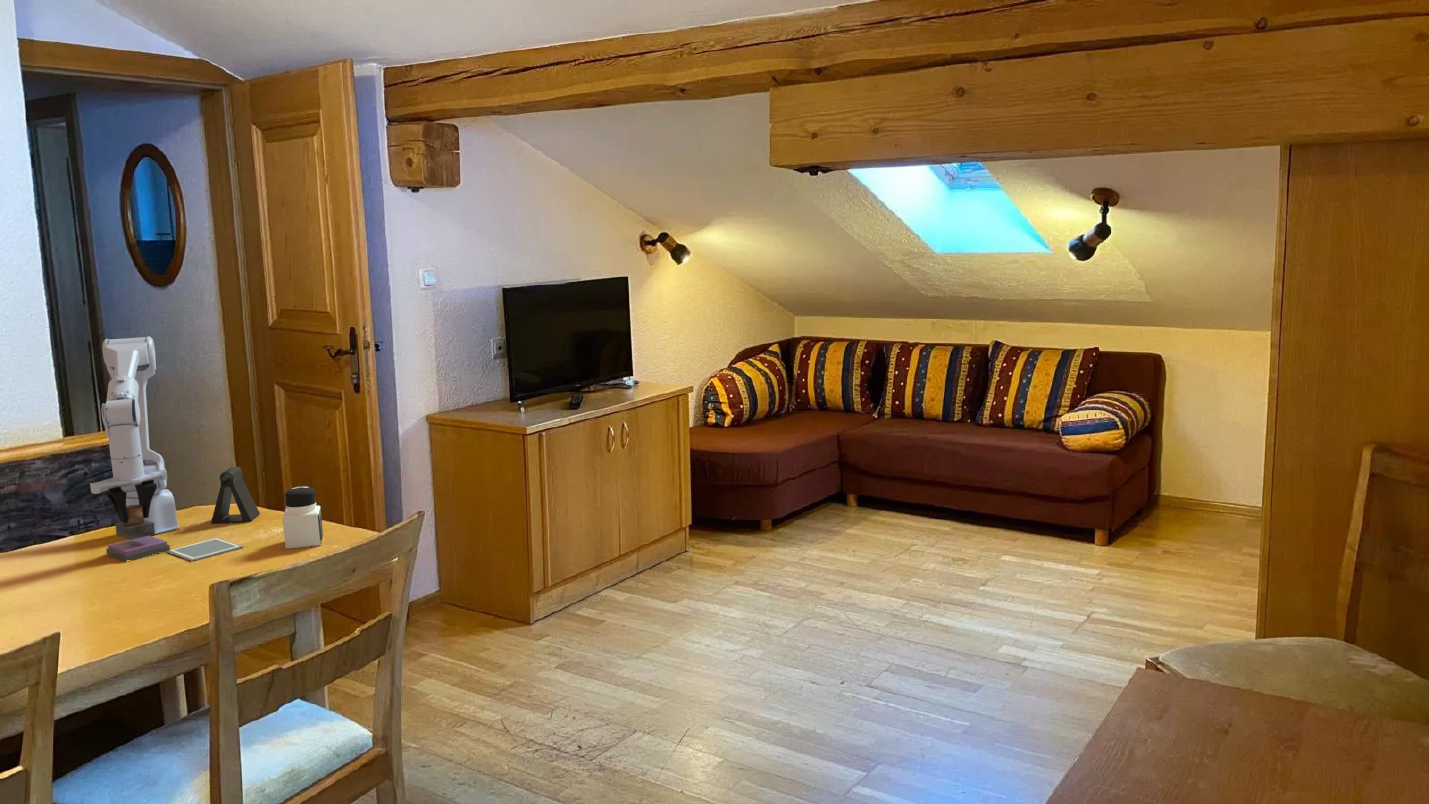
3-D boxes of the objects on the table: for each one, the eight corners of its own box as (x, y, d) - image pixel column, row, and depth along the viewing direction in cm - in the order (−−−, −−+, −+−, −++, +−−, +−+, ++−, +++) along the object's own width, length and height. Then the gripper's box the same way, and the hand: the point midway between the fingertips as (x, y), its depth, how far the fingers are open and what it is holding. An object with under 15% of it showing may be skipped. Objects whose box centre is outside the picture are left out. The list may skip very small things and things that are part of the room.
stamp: (140, 529, 230) (137, 502, 229) (155, 534, 226) (152, 506, 225) (116, 535, 226) (113, 507, 225) (131, 540, 222) (128, 512, 221)
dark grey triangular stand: (260, 514, 253) (255, 465, 251) (251, 522, 247) (245, 471, 245) (221, 516, 253) (215, 467, 251) (211, 523, 247) (205, 473, 245)
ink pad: (150, 543, 233) (149, 534, 233) (170, 550, 227) (169, 541, 227) (106, 554, 226) (105, 545, 226) (125, 562, 220) (124, 552, 220)
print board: (217, 539, 235) (217, 537, 235) (243, 547, 228) (243, 546, 228) (166, 552, 226) (166, 550, 226) (191, 561, 219) (191, 559, 219)
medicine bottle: (321, 546, 228) (316, 491, 226) (285, 549, 226) (280, 494, 224) (323, 536, 235) (318, 483, 233) (288, 540, 233) (283, 486, 231)
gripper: (97, 465, 215) (106, 531, 217) (170, 452, 226) (178, 514, 228) (82, 461, 219) (91, 525, 222) (155, 448, 230) (162, 509, 233)
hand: (134, 519), depth 225 cm, fingers closed on stamp, 4 cm apart
